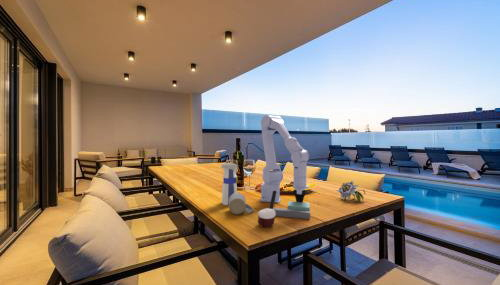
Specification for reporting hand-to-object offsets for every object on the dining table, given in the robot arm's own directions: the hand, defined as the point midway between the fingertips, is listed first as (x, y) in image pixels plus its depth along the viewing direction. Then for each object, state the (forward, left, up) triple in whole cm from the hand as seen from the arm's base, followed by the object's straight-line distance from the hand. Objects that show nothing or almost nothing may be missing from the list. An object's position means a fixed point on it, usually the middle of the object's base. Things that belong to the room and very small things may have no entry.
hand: (299, 206), depth 101 cm
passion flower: (+26, +25, -2) cm, 36 cm away
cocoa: (-11, -22, -2) cm, 25 cm away
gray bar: (-3, -10, -1) cm, 11 cm away
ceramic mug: (-25, -11, -2) cm, 27 cm away
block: (0, -5, -2) cm, 5 cm away
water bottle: (-34, +1, -2) cm, 34 cm away
